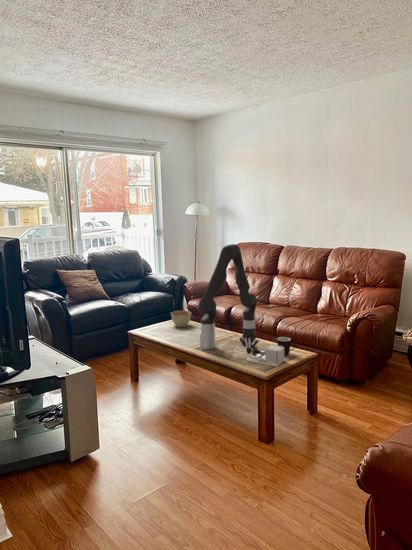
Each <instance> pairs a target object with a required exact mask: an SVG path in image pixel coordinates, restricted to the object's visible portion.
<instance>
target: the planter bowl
mask: <svg viewBox="0 0 412 550" xmlns="http://www.w3.org/2000/svg"><path fill="white" fill-rule="evenodd" d="M170 316H171V319H172V322H173V324H174V325H175V327H176V328H186V327H188V324H189V323H190V321H191V318H192V312H191V311H190V310H174V311H172V312H170Z"/></svg>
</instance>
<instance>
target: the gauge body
mask: <svg viewBox="0 0 412 550" xmlns="http://www.w3.org/2000/svg"><path fill="white" fill-rule="evenodd" d="M261 355H262V354H257V355H256V356H253V355H252V354H250V356H248V357H247V358H246V359H245V361H246V362H251V363H254V364H255V363H256V364H261V365H265V366H271V367H278V366H280V365H281V364H282V363H283V362H284V361H285V356H284V347H279V346H278V345H273V344H270V345H269V346H268V347H266V348H265V355H264V356H262V357H261V358H259V357H260V356H261Z"/></svg>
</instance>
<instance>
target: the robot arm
mask: <svg viewBox="0 0 412 550" xmlns="http://www.w3.org/2000/svg"><path fill="white" fill-rule="evenodd" d="M231 261H232V262H233V265H234V269H235V271H234V278H235V283H236V285H237V288H238V292H239V300H240V303H241V304H242V306H243V307H245V309H244V310H243V313H242V314H243V315H242V336H241V337H240V338H239V339H238V340H239V341H240V343H241V344H242V346H243V347H244V348H246V353H247V355H252V349H253V347H256V346H257V344H258V343H259V342H260V340H259V339H257V336H256V318H255V317H256V316H255V313H256V308H257V297H256V295H255V294H253V293H250V289H251V286H250V283H249V280H248V278H247V275H246V271H245V268H244V262H243V256H242V251H241V248H240V246H239V245H237V244H235V243H232V244H227V245H225V246H223V247H222V249H221V251H220V253H219V257H218V260H217V264H216V266H215V267H214V271H213V273H212V274H211V278H210V279H209V282H208V284H207V287H206V289H205V290H204V293H203V295H202V296H201V298H200V300H199V302H198V304H197V305H198V306H197V309H198V312H199V313H200V314H204V315H203V316H202V317H201V319H200V326H201V327H200V330H201V332H200V334H199V337H200V338H199V342H200V343H199V344H200V345H199V347H200V348H201V349H203V350H207V351H208V350H215V348H216V319H217V303H216V300H215V299H214V298H215V297H216V295H218V293H220V291H222V289H223V287H224V285H225V284H226V283H225V282H226V281H227V269H228V267H229V264H230V263H231Z"/></svg>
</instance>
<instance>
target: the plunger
mask: <svg viewBox="0 0 412 550" xmlns="http://www.w3.org/2000/svg"><path fill="white" fill-rule="evenodd" d="M257 354H261V356H260V357H259V358H261V357H262V356H264V355H265V351H264V350H259V348H258V346H255V347H253V348H252V352H251V355H253V356H256V355H257Z"/></svg>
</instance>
